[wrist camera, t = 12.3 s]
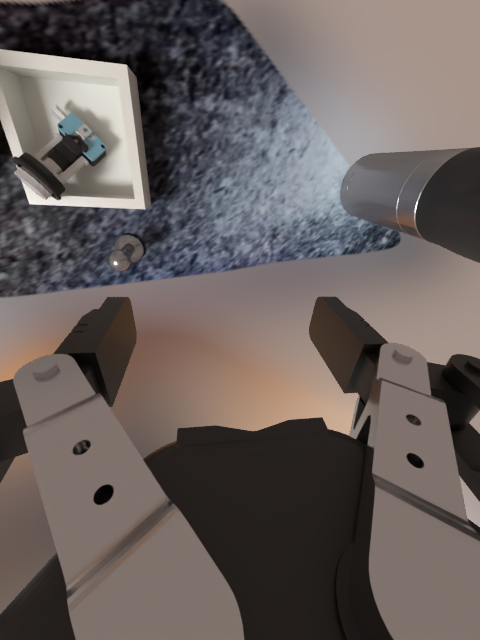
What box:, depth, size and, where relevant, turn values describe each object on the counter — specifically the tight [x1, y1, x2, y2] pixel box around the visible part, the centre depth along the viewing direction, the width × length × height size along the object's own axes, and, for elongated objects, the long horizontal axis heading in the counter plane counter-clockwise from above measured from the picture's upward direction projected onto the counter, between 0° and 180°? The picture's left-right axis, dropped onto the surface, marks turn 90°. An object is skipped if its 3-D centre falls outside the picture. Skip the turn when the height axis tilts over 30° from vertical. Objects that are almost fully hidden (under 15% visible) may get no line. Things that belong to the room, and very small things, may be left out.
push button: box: [12, 104, 106, 200], centre depth 30 cm, size 7×5×10 cm
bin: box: [0, 49, 151, 209], centre depth 32 cm, size 14×14×5 cm
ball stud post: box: [108, 234, 144, 271], centre depth 38 cm, size 4×4×8 cm
